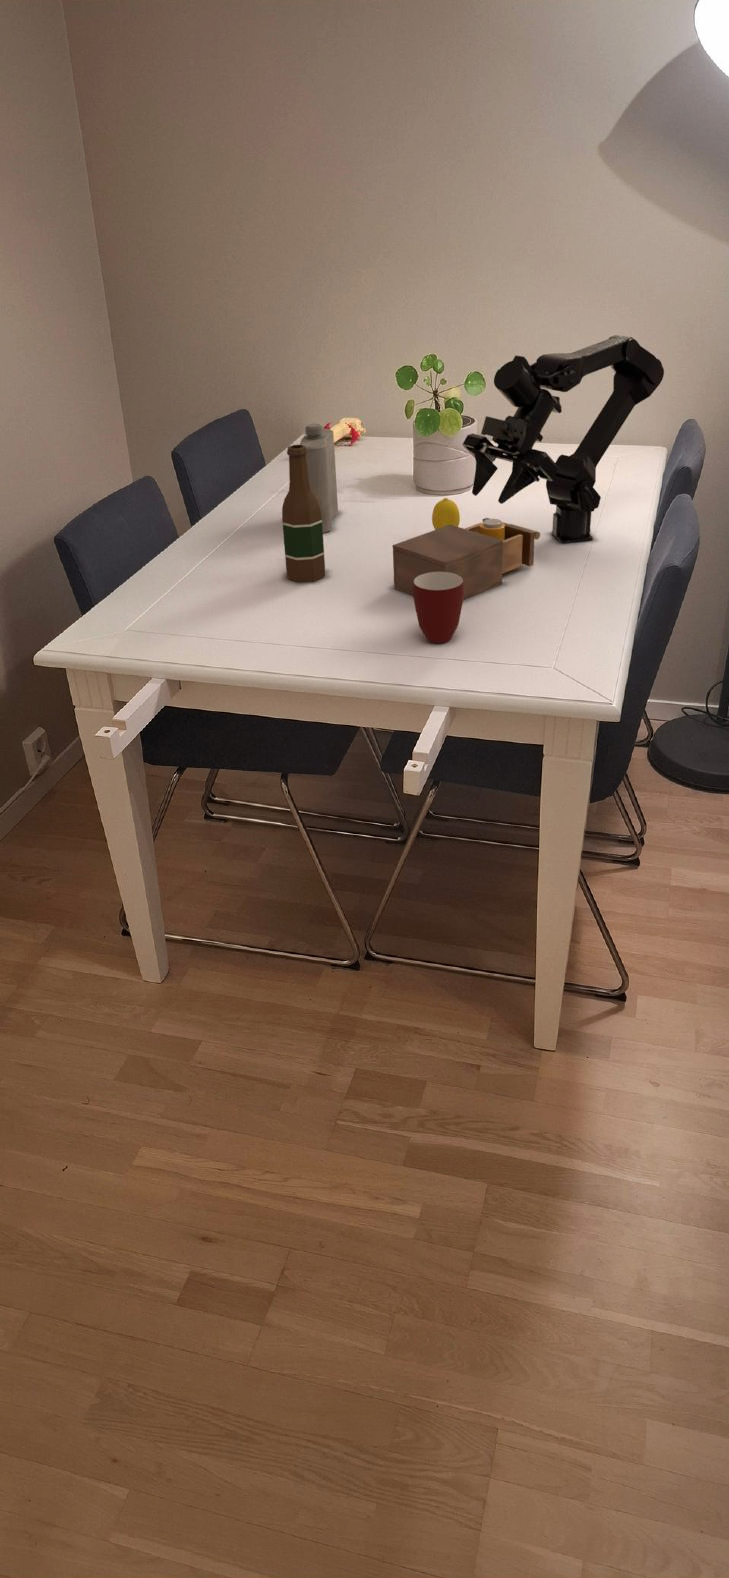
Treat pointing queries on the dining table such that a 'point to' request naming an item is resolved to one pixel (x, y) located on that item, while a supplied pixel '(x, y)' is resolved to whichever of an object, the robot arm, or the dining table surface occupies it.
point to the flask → (322, 470)
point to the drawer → (515, 545)
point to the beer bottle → (302, 523)
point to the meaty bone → (347, 429)
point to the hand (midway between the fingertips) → (486, 498)
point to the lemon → (445, 514)
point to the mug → (438, 604)
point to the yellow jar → (493, 528)
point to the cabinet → (450, 559)
